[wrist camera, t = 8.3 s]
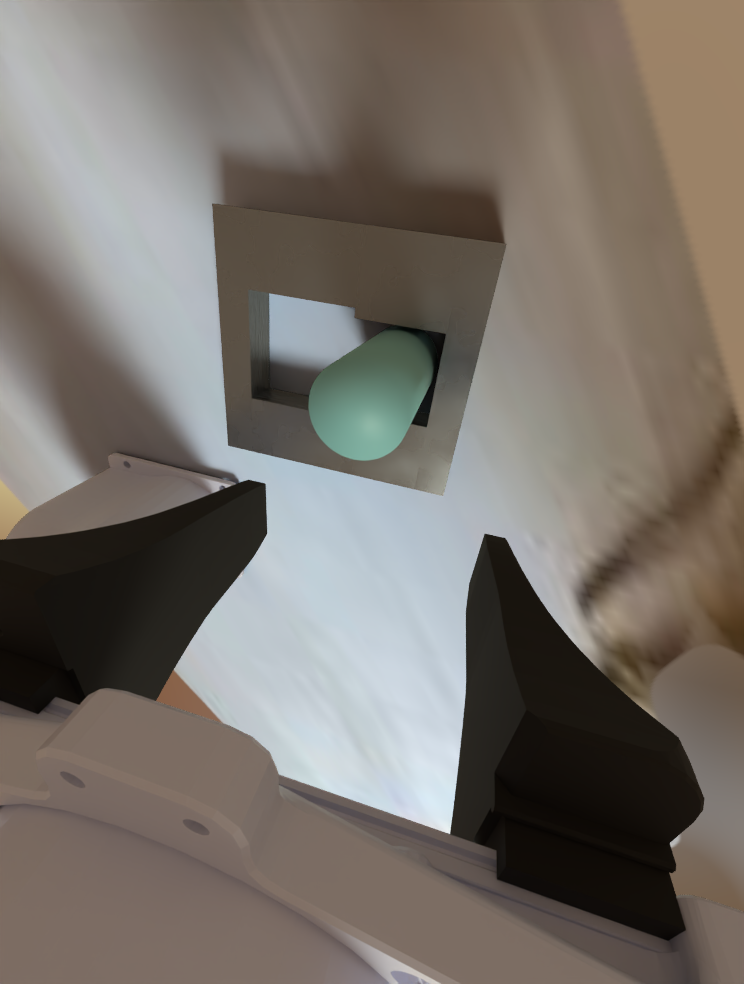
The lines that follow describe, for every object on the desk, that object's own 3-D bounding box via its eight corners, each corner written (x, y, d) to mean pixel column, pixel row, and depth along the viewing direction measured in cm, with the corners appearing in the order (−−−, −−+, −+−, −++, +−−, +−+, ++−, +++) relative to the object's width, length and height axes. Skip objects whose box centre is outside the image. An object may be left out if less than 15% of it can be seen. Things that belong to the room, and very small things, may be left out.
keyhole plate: (246, 432, 24) (228, 445, 22) (237, 208, 18) (212, 203, 17) (446, 478, 22) (443, 495, 21) (504, 245, 17) (506, 243, 15)
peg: (365, 388, 21) (306, 448, 14) (374, 318, 19) (310, 349, 13) (430, 401, 21) (400, 470, 14) (445, 331, 19) (418, 369, 12)
